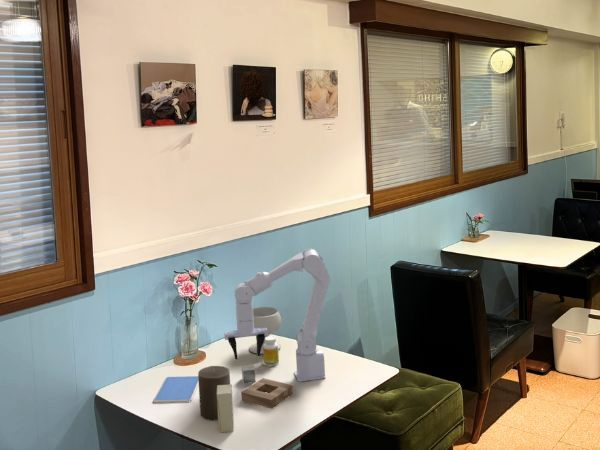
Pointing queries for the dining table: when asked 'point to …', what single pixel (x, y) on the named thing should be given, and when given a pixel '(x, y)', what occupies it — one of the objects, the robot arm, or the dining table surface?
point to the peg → (248, 374)
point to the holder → (273, 396)
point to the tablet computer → (177, 389)
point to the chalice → (265, 323)
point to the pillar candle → (211, 389)
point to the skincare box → (225, 408)
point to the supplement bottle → (270, 351)
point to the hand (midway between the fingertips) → (247, 356)
